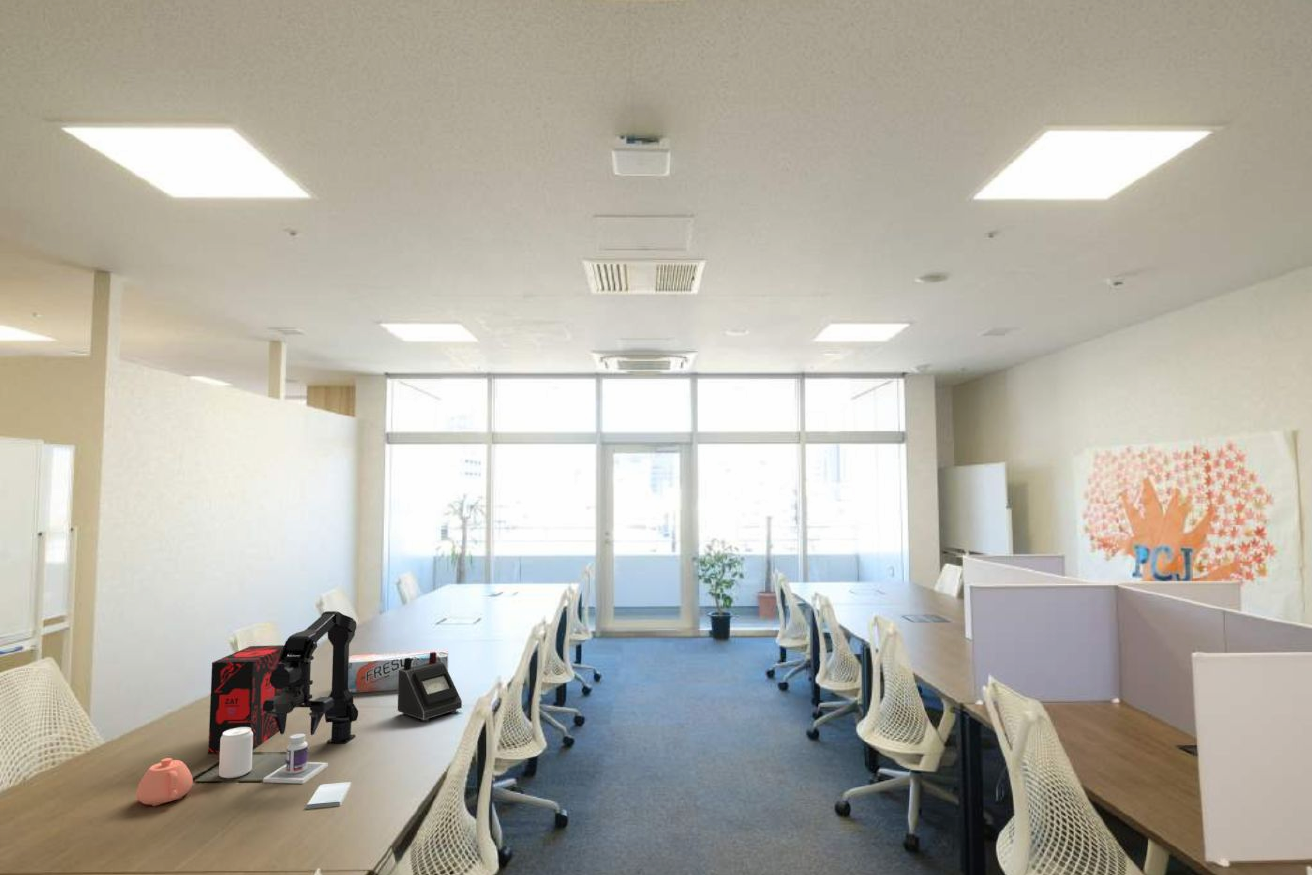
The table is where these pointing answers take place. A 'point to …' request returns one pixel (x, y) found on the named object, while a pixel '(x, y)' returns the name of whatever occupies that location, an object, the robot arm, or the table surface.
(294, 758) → the pill bottle
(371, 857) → the table surface
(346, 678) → the robot arm
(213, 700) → the box
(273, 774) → the base slab
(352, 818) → the table surface
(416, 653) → the soda box
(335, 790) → the hard drive
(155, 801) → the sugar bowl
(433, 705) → the voltmeter
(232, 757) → the beverage can
